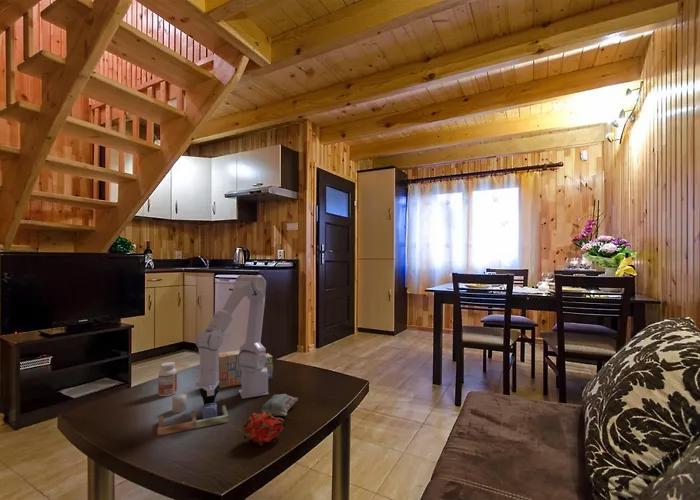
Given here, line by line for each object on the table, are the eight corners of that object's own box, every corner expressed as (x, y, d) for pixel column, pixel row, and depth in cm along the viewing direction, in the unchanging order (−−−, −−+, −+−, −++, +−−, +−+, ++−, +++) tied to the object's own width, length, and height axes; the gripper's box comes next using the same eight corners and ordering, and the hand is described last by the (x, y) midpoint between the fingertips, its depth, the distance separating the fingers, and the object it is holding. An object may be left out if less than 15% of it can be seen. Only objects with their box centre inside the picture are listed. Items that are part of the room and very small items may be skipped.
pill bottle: (168, 389, 132) (168, 360, 133) (180, 391, 130) (181, 362, 131) (154, 395, 127) (154, 365, 127) (167, 397, 125) (167, 366, 125)
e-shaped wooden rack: (225, 410, 114) (225, 404, 114) (228, 421, 106) (228, 415, 106) (159, 422, 105) (159, 416, 105) (157, 435, 97) (157, 429, 97)
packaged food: (298, 406, 118) (298, 391, 118) (285, 422, 106) (285, 405, 106) (274, 404, 119) (273, 390, 119) (259, 420, 107) (259, 404, 107)
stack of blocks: (268, 374, 150) (268, 346, 151) (273, 378, 145) (273, 349, 145) (216, 383, 139) (216, 352, 140) (219, 388, 134) (219, 356, 134)
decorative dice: (202, 416, 109) (202, 403, 109) (216, 414, 111) (216, 401, 111) (202, 422, 106) (202, 408, 106) (216, 419, 107) (216, 406, 107)
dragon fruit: (237, 449, 93) (282, 448, 97) (242, 443, 87) (289, 441, 91) (241, 415, 98) (283, 415, 102) (245, 407, 92) (289, 407, 96)
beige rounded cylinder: (186, 406, 117) (186, 393, 117) (186, 411, 113) (187, 397, 113) (172, 409, 115) (172, 395, 115) (171, 414, 111) (172, 400, 111)
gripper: (194, 363, 116) (194, 404, 116) (196, 376, 103) (196, 422, 103) (217, 361, 119) (216, 400, 119) (221, 373, 106) (221, 418, 106)
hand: (208, 410), depth 111 cm, fingers closed
